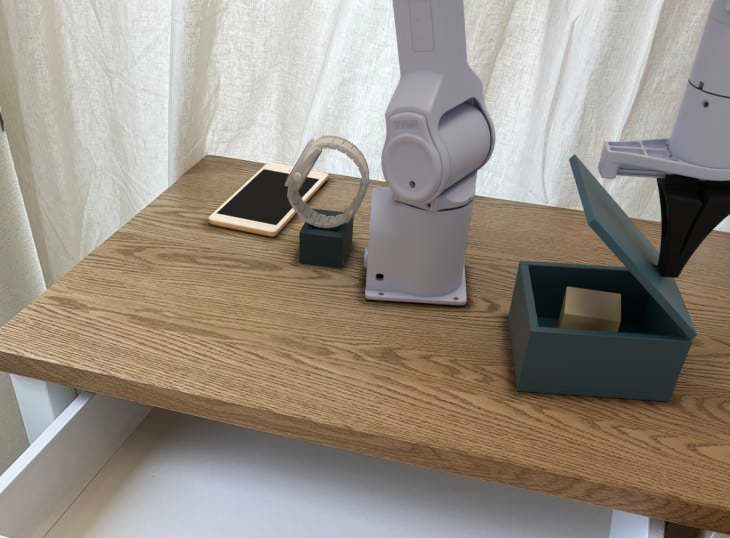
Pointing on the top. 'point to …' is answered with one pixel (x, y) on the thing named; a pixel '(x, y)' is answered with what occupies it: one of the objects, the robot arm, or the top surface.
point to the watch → (324, 227)
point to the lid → (629, 245)
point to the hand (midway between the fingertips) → (667, 271)
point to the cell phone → (264, 201)
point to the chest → (592, 337)
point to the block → (590, 310)
